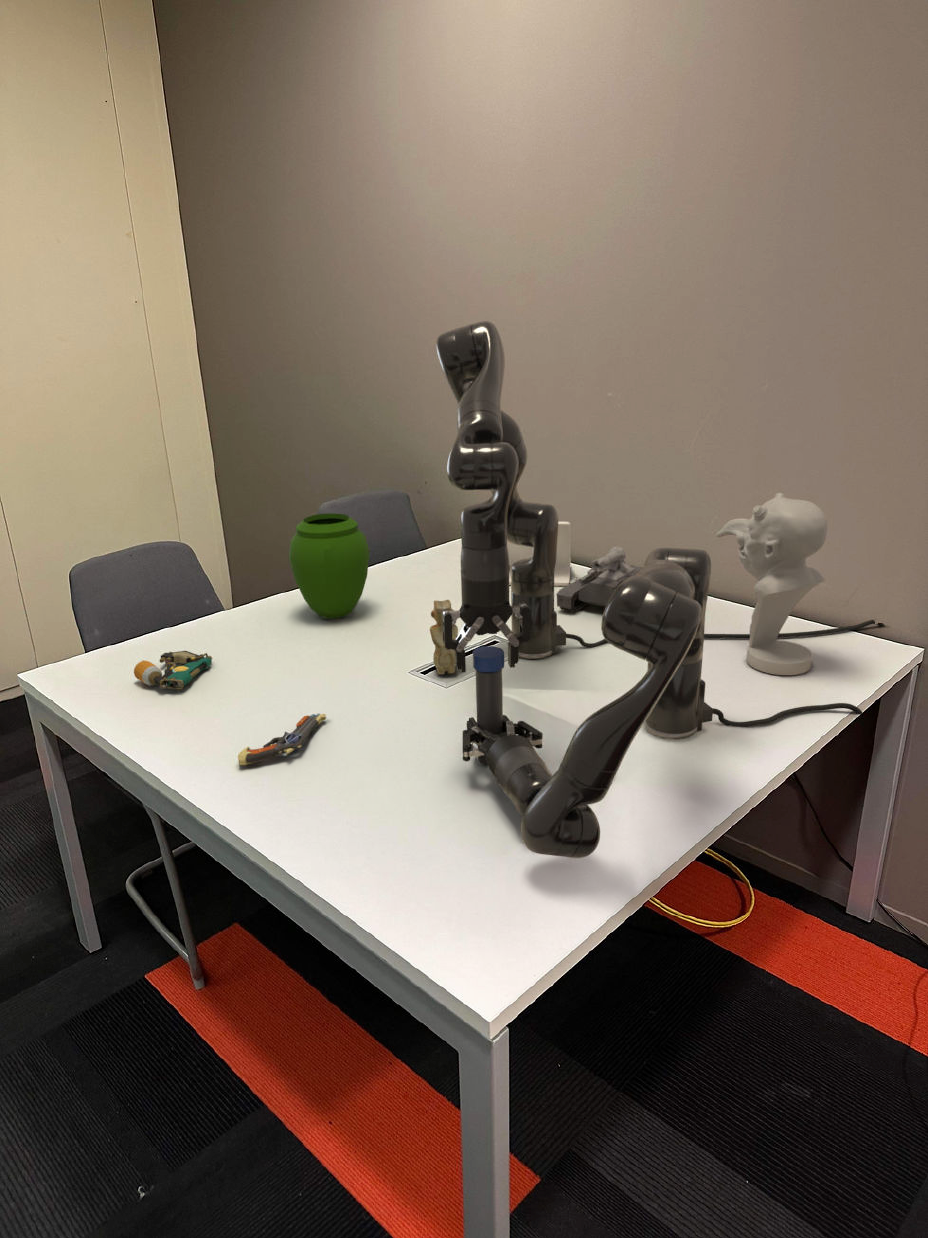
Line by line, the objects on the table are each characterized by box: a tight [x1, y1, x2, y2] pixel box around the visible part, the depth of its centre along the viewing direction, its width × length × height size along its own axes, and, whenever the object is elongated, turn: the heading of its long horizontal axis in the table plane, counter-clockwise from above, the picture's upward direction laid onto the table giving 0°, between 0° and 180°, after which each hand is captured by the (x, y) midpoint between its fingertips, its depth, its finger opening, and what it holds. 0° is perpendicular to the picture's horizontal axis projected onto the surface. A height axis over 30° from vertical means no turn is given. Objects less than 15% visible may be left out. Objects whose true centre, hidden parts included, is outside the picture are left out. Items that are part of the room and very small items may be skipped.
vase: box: [288, 512, 370, 620], centre depth 209 cm, size 20×20×24 cm
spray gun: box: [133, 650, 213, 690], centre depth 180 cm, size 4×17×15 cm
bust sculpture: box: [716, 492, 828, 676], centre depth 176 cm, size 16×24×35 cm
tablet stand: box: [507, 521, 572, 587], centre depth 236 cm, size 18×25×17 cm
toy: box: [556, 546, 643, 613], centre depth 212 cm, size 25×20×15 cm
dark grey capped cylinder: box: [474, 669, 504, 767], centre depth 141 cm, size 4×4×19 cm
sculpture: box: [429, 599, 459, 675], centre depth 177 cm, size 6×7×15 cm
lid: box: [472, 645, 505, 672], centre depth 138 cm, size 5×5×2 cm
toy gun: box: [237, 713, 327, 766], centre depth 151 cm, size 3×19×10 cm
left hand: (486, 668), depth 139 cm, fingers open, 7 cm apart
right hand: (484, 720), depth 145 cm, fingers closed on dark grey capped cylinder, 4 cm apart
